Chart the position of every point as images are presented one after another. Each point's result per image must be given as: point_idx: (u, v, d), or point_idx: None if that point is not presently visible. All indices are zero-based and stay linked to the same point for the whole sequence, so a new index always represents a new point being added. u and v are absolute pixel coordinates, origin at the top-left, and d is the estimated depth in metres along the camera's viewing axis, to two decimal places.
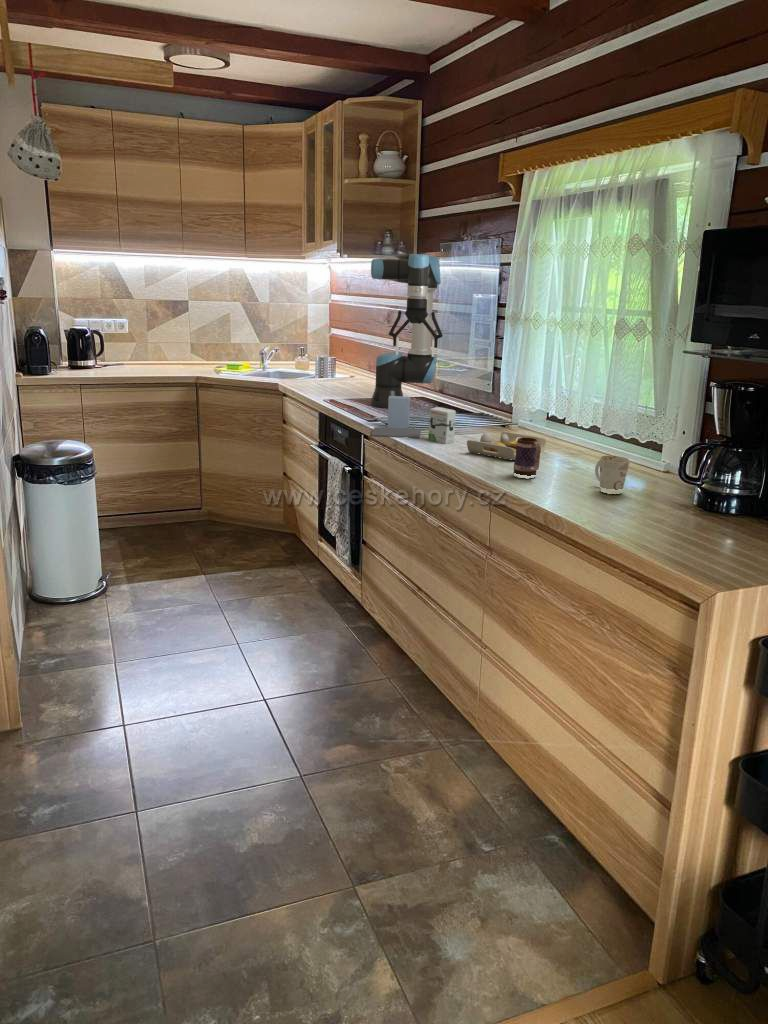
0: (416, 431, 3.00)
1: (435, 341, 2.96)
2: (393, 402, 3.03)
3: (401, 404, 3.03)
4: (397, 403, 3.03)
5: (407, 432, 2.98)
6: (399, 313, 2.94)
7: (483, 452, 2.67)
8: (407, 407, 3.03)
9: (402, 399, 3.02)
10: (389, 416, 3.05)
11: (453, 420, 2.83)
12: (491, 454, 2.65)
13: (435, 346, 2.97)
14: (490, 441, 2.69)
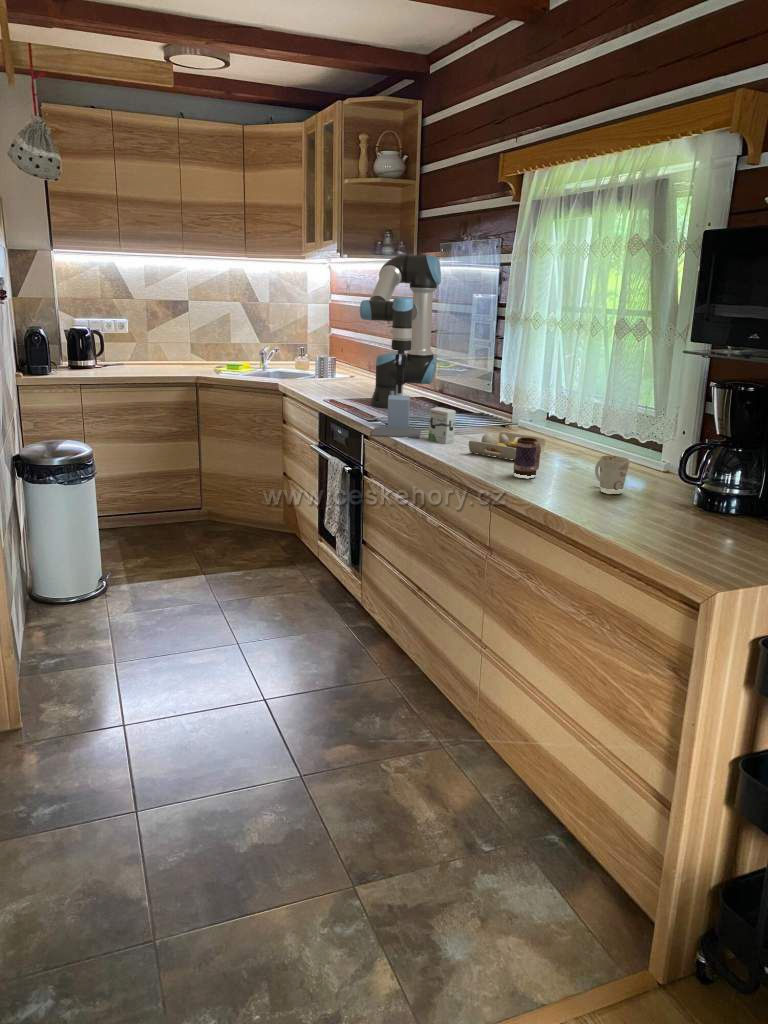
0: (416, 431, 3.00)
1: (397, 387, 3.04)
2: (393, 403, 3.01)
3: (401, 405, 3.01)
4: (396, 404, 3.01)
5: (407, 432, 2.98)
6: None
7: (485, 453, 2.66)
8: (407, 408, 3.02)
9: (402, 400, 3.00)
10: (389, 417, 3.04)
11: (453, 420, 2.83)
12: (493, 455, 2.64)
13: (397, 391, 3.04)
14: (492, 441, 2.68)
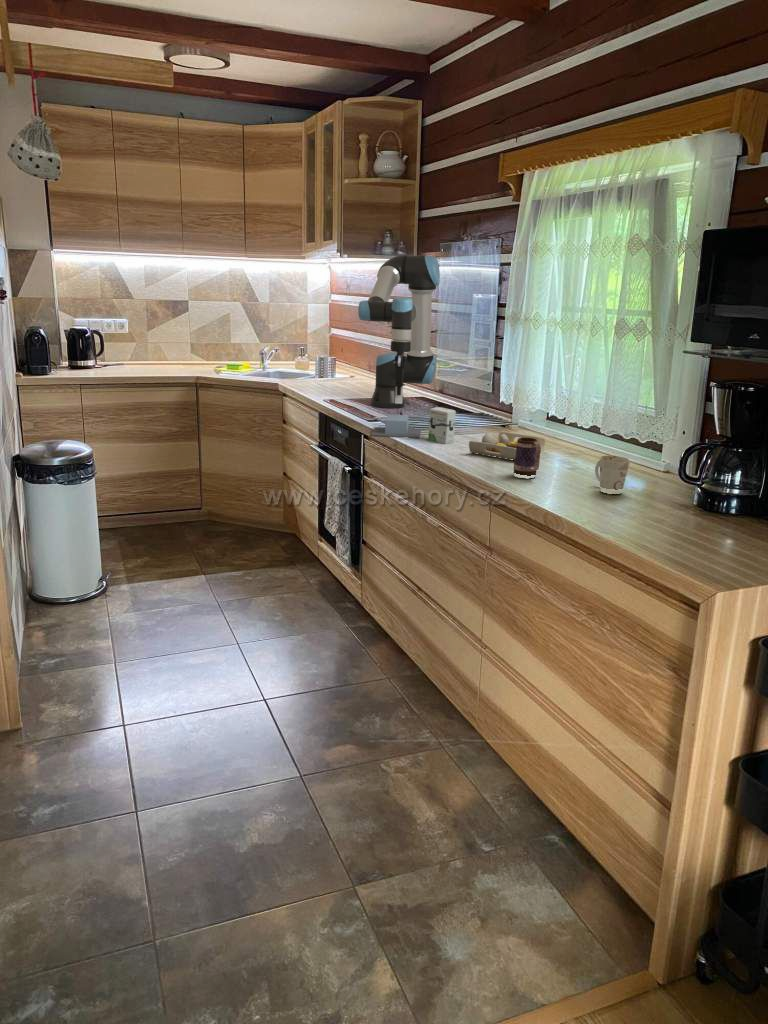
0: (416, 431, 3.00)
1: (397, 388, 3.00)
2: None
3: None
4: None
5: (407, 432, 2.98)
6: None
7: (485, 453, 2.66)
8: None
9: None
10: None
11: (453, 420, 2.83)
12: (494, 455, 2.64)
13: (397, 393, 3.00)
14: (492, 442, 2.68)
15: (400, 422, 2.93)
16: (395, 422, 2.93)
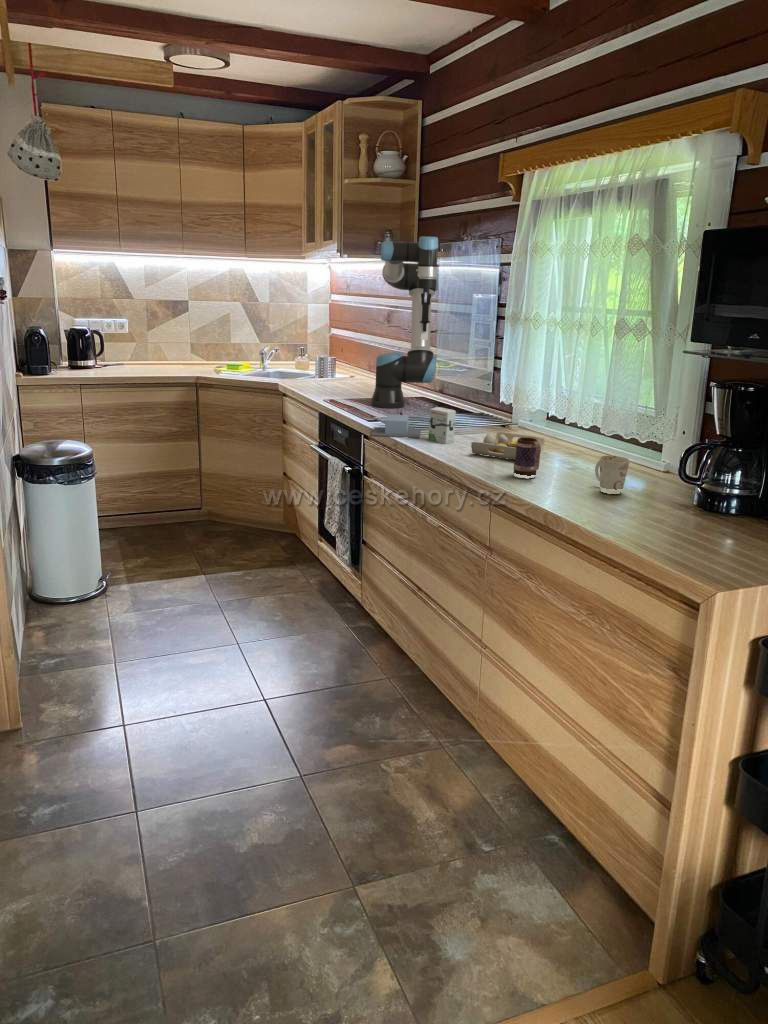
0: (416, 431, 3.00)
1: (423, 325, 3.13)
2: None
3: None
4: None
5: (407, 432, 2.98)
6: None
7: (488, 453, 2.65)
8: None
9: None
10: None
11: (453, 420, 2.83)
12: (497, 455, 2.64)
13: (422, 330, 3.14)
14: (494, 442, 2.67)
15: (400, 422, 2.93)
16: (395, 422, 2.93)
